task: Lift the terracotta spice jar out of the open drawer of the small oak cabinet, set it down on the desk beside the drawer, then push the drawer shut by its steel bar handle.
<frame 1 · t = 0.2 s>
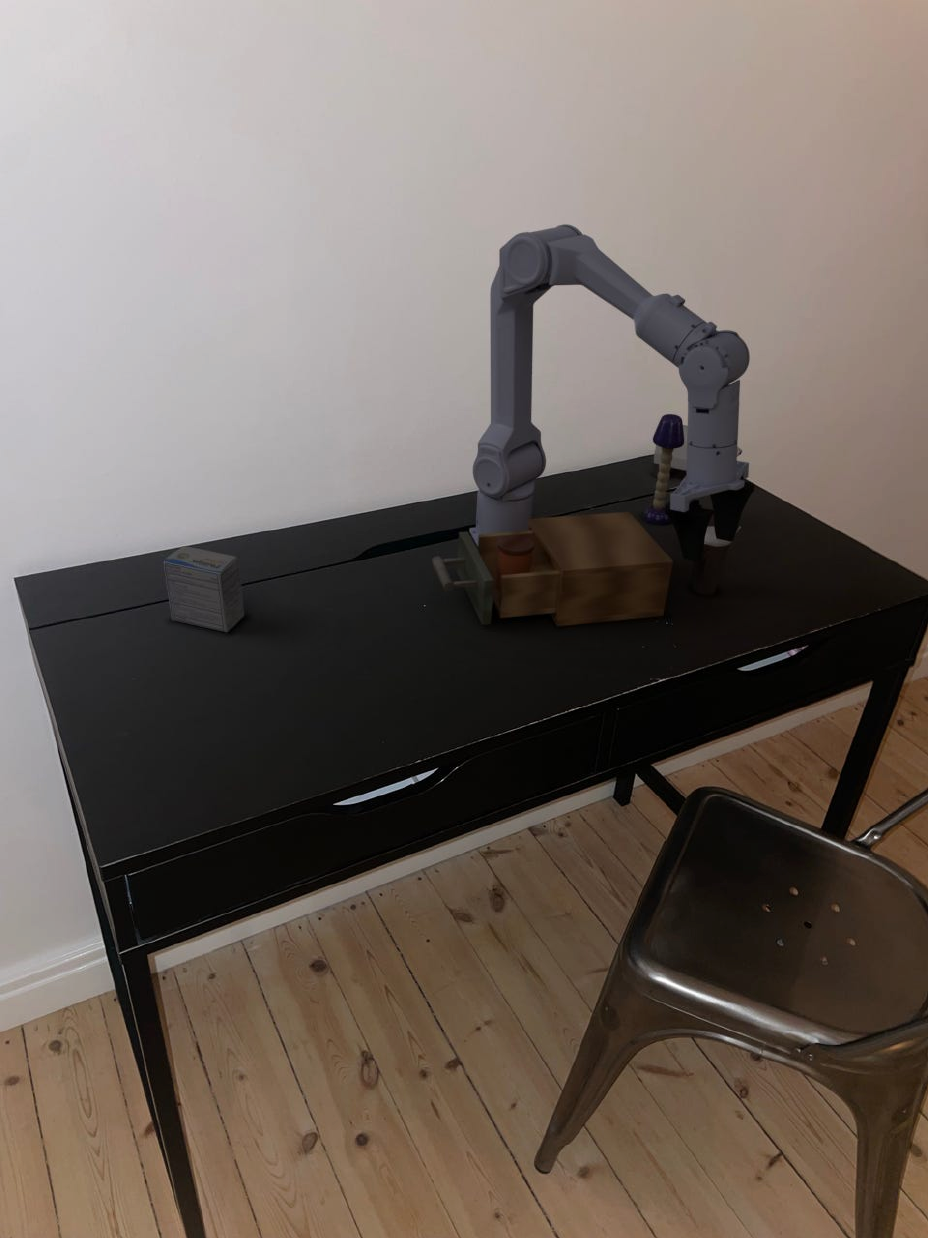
hand: (708, 549, 118), 11 cm above the table, tool pointing down, fingers open, 7 cm apart
medicine box: (208, 620, 119), on the table
spice jar: (512, 587, 125), point 2 cm above the table, touching drawer
giant panda: (688, 479, 163), on the table
milkshake: (706, 591, 131), on the table
cabinet: (591, 592, 129), on the table
drawer: (504, 574, 124), point 4 cm above the table, slide at 8.5 cm, touching spice jar
toy lamp: (655, 520, 149), on the table
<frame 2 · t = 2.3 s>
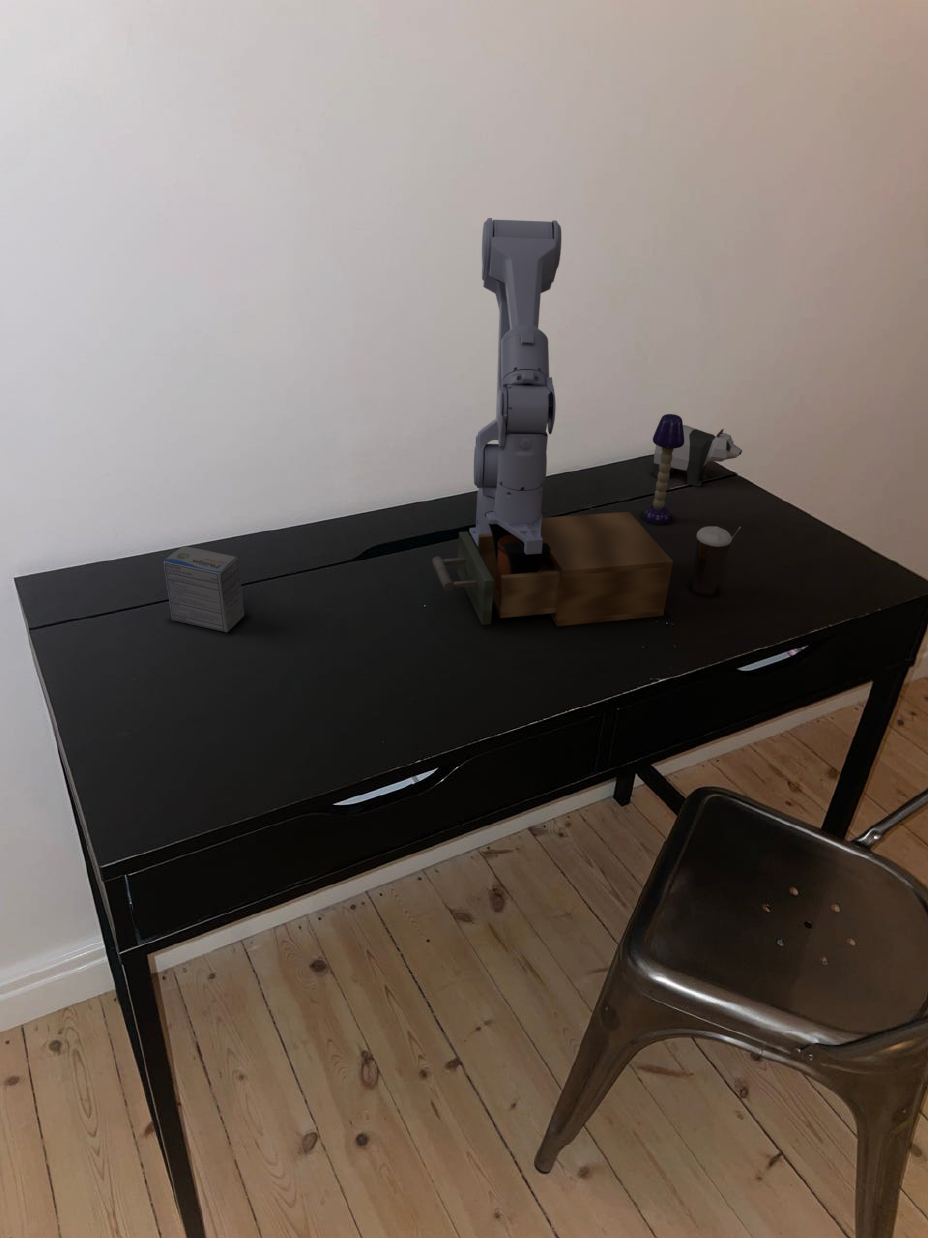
hand: (513, 578, 124), 3 cm above the table, tool pointing down, fingers open, 7 cm apart
drawer: (504, 574, 124), point 4 cm above the table, slide at 8.5 cm, touching gripper, spice jar
everything else where it was.
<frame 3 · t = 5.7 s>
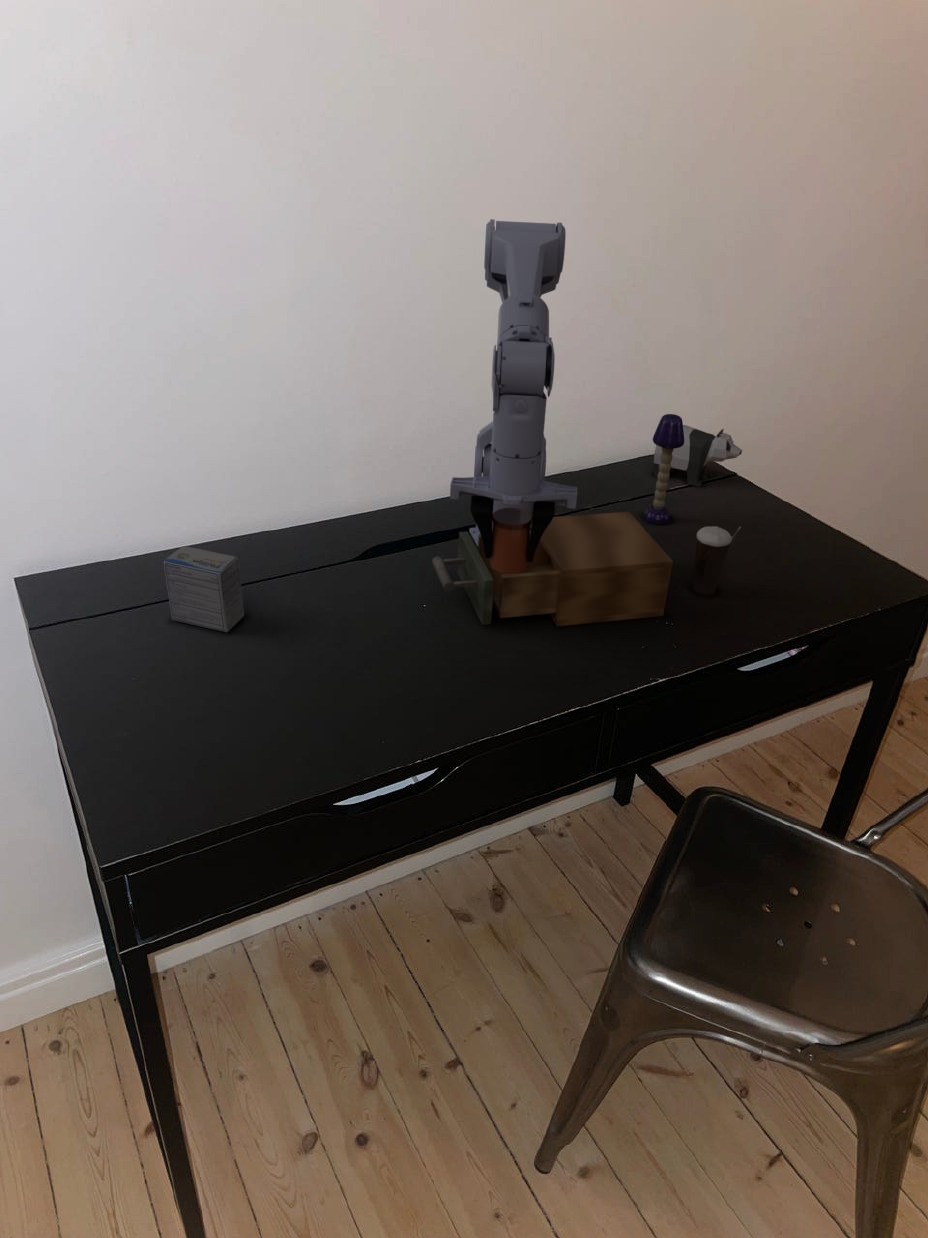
hand: (509, 556, 115), 10 cm above the table, tool pointing down, fingers closed on spice jar, 4 cm apart
spice jar: (508, 565, 115), point 9 cm above the table, touching gripper
drawer: (504, 574, 124), point 4 cm above the table, slide at 8.5 cm
everything else where it was.
when the fingers open (1 cm above the table, at t = 9.0 s): spice jar stays where it is, on the table.
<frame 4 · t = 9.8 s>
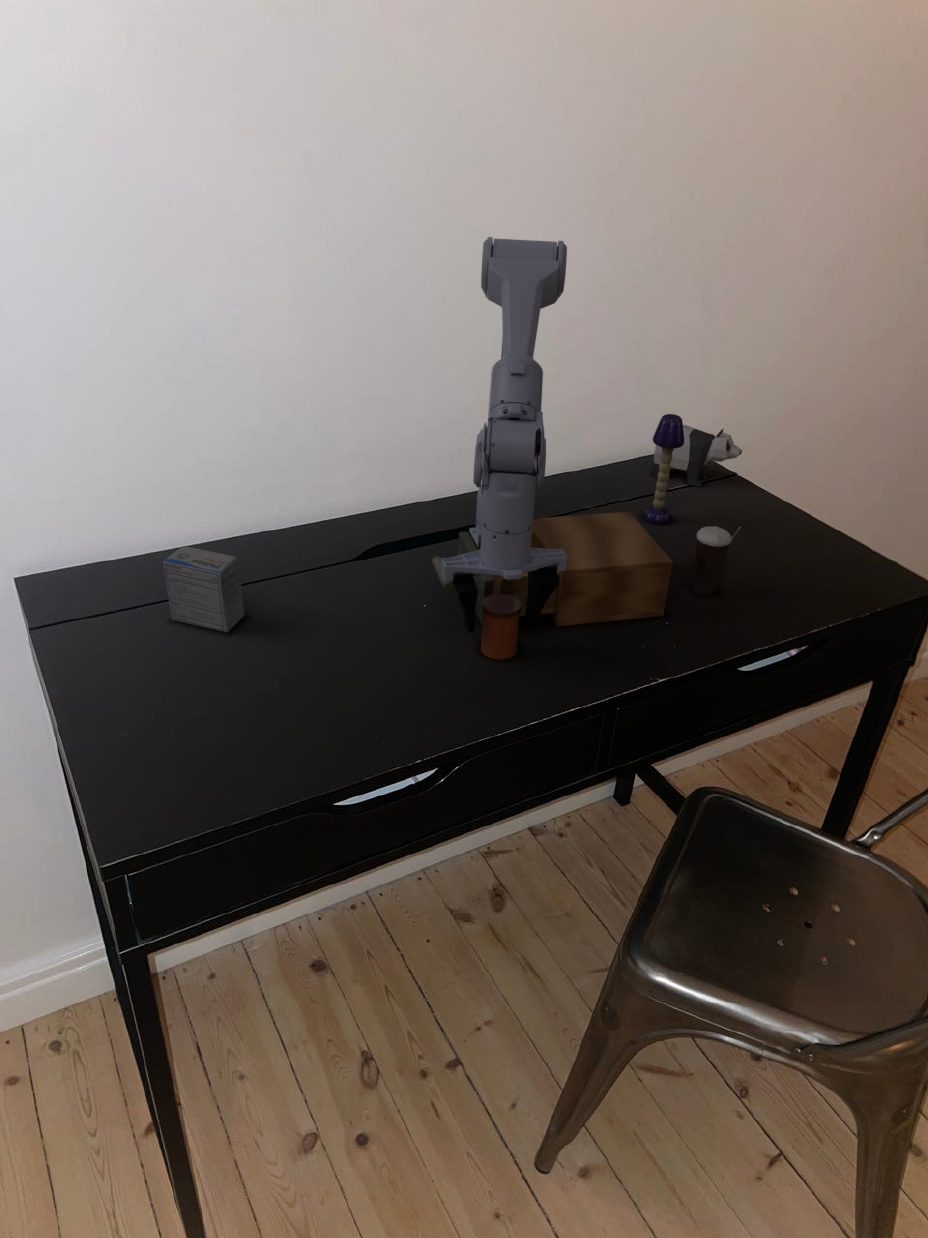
hand: (500, 625, 114), 3 cm above the table, tool pointing down, fingers open, 7 cm apart
spice jar: (498, 649, 116), on the table
everything else where it was.
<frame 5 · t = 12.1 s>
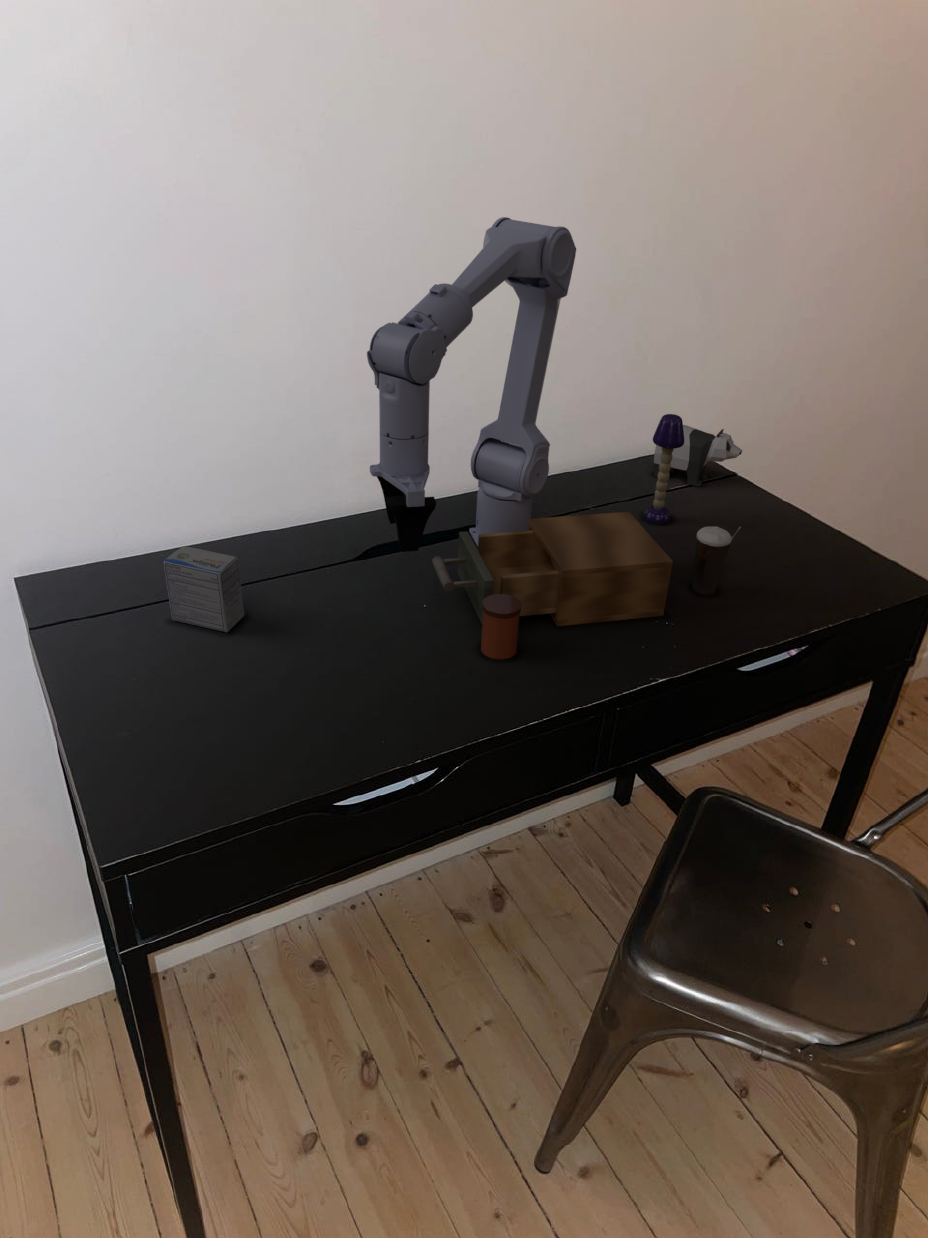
hand: (403, 535, 118), 10 cm above the table, tool pointing down, fingers open, 7 cm apart
nothing on the table moved.
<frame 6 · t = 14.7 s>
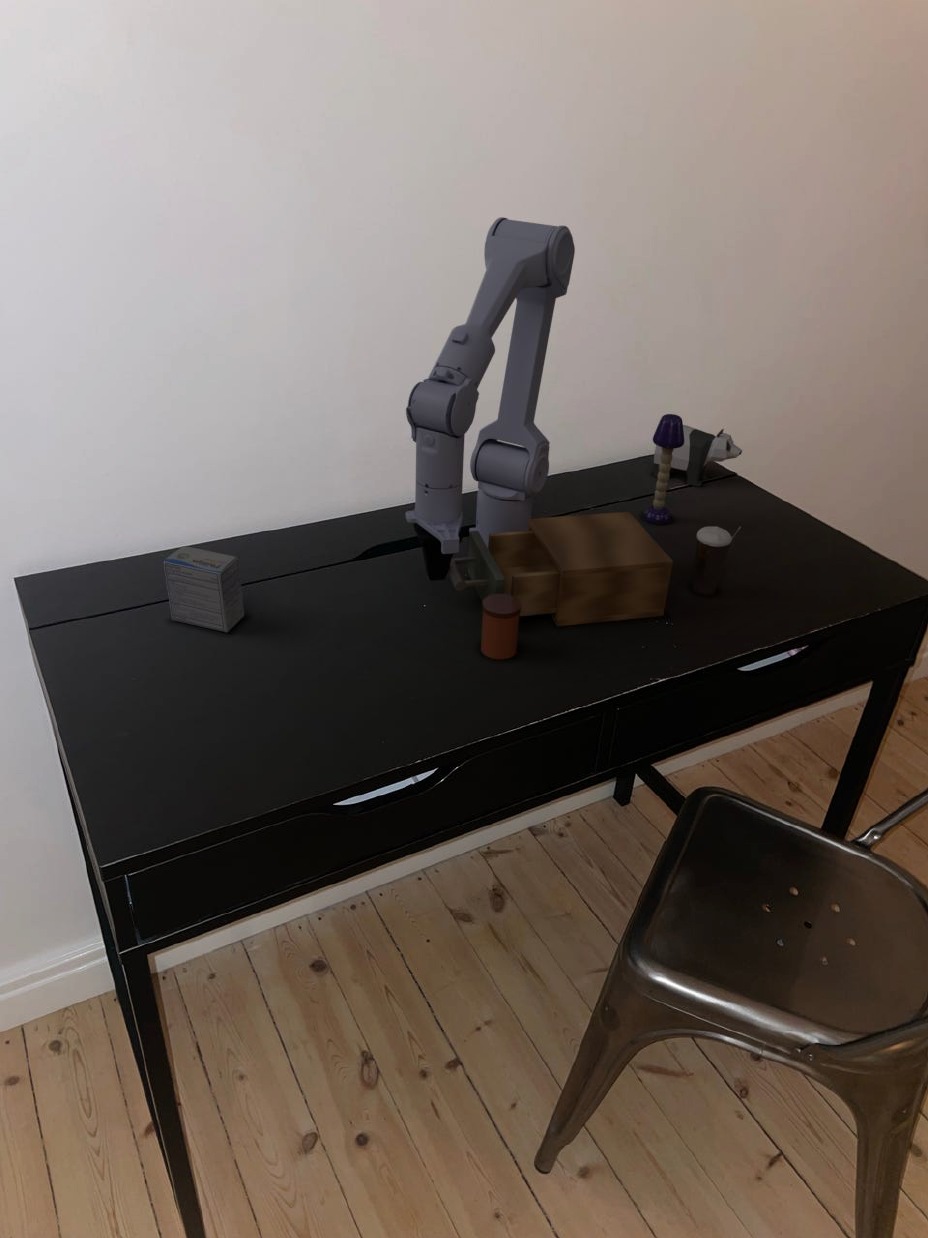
hand: (436, 577, 123), 4 cm above the table, tool pointing down, fingers closed, pressing on drawer
drawer: (515, 573, 124), point 4 cm above the table, slide at 7.1 cm, touching gripper
everything else where it was.
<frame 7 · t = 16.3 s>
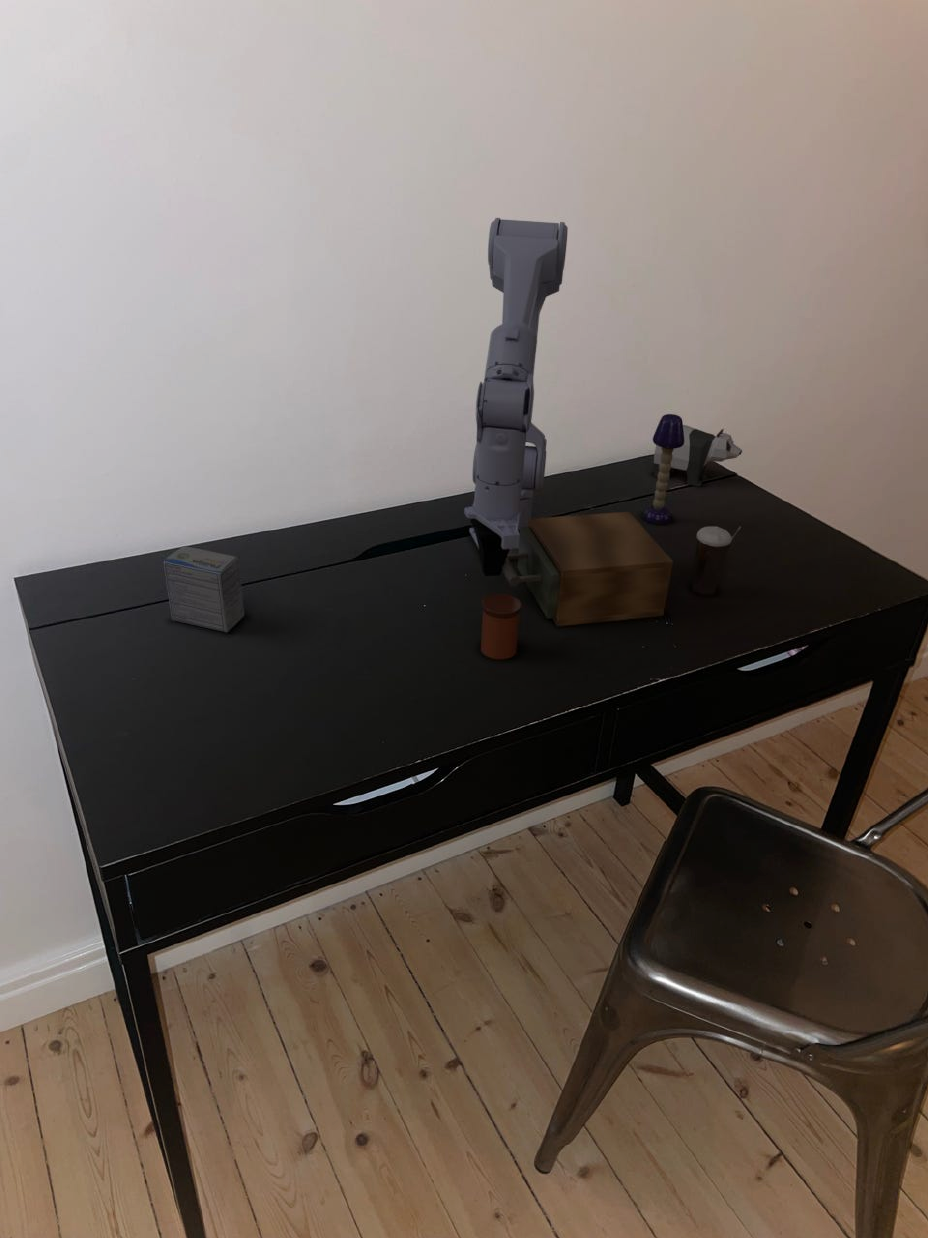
hand: (491, 573, 125), 4 cm above the table, tool pointing down, fingers closed, pressing on drawer
drawer: (566, 568, 126), point 4 cm above the table, slide at 0.0 cm, touching cabinet, gripper
everything else where it was.
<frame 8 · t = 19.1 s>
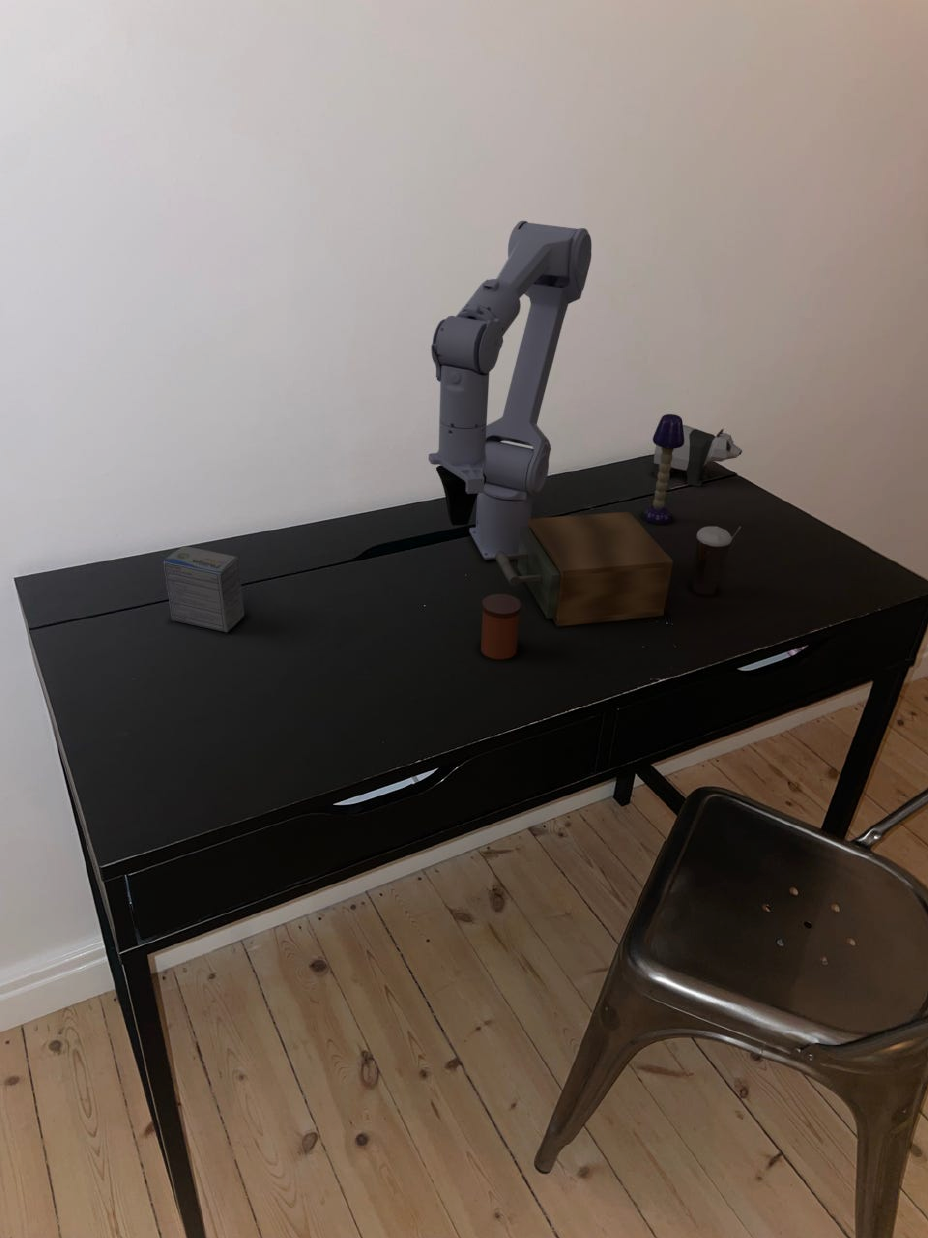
hand: (458, 522, 122), 10 cm above the table, tool pointing down, fingers closed
drawer: (566, 568, 126), point 4 cm above the table, slide at 0.0 cm, touching cabinet
everything else where it was.
at the end: spice jar inside the target area (0.0 cm from its centre), on the table; spice jar tilted 0°; drawer slide at 0.0 cm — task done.
